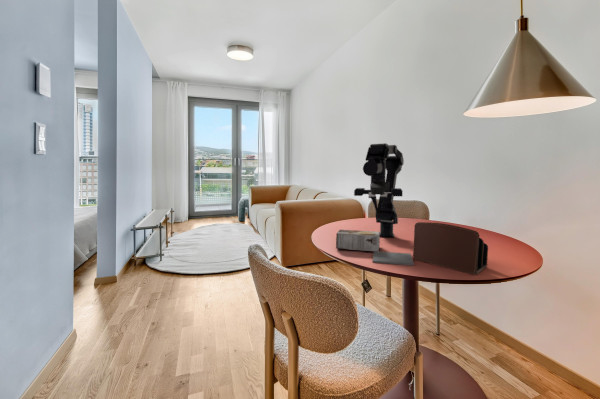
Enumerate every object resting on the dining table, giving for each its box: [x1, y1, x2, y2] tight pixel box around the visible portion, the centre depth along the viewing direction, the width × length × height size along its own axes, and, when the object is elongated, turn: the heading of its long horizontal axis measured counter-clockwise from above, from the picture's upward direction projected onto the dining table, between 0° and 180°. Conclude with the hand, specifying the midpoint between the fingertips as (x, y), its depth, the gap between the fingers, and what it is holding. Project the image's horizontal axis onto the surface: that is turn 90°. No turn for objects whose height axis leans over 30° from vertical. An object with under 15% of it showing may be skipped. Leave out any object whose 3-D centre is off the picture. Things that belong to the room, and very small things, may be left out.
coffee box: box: [335, 229, 381, 252], centre depth 111 cm, size 9×6×16 cm
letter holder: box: [412, 221, 489, 276], centre depth 93 cm, size 10×20×14 cm, turn 40°
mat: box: [372, 251, 415, 267], centre depth 99 cm, size 11×13×1 cm
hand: (377, 212), depth 116 cm, fingers closed
